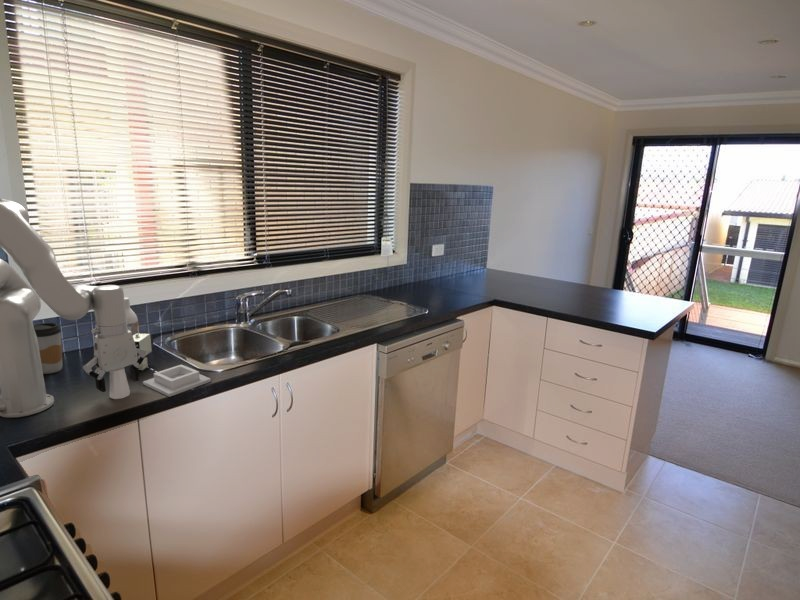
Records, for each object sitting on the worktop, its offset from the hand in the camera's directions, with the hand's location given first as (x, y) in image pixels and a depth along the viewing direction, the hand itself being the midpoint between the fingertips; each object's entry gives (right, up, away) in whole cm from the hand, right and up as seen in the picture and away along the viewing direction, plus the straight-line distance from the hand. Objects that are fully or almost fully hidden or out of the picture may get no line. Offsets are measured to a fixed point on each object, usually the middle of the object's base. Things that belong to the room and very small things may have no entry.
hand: (118, 385), depth 142 cm
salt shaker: (0, -3, +1) cm, 3 cm away
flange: (+12, -1, +10) cm, 16 cm away
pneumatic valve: (-5, +2, +20) cm, 21 cm away
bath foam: (-16, +6, +34) cm, 38 cm away
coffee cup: (-31, +2, +16) cm, 35 cm away
